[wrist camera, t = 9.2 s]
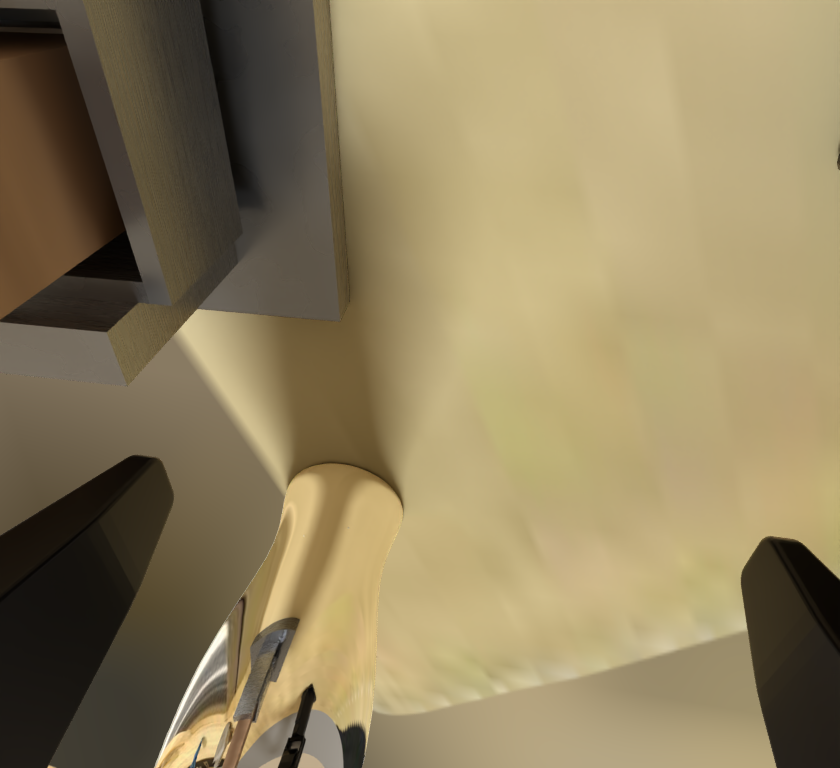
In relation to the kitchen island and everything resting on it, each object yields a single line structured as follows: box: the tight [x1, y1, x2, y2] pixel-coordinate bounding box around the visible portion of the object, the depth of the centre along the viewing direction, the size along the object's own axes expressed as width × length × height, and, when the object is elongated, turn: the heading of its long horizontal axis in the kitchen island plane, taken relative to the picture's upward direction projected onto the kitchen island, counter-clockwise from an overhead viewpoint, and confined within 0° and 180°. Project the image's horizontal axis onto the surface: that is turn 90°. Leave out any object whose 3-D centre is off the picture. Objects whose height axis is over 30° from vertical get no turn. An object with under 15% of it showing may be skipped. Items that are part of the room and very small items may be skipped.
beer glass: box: [154, 463, 403, 768], centre depth 23 cm, size 7×7×15 cm
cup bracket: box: [0, 0, 350, 386], centre depth 15 cm, size 12×12×8 cm
